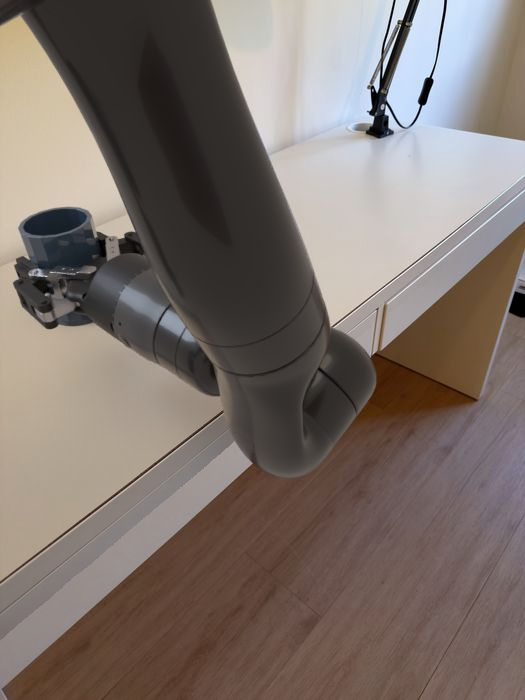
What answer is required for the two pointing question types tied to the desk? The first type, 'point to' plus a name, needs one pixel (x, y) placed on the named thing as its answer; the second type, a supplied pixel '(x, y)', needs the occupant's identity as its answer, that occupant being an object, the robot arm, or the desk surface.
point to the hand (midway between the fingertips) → (55, 251)
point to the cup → (61, 245)
